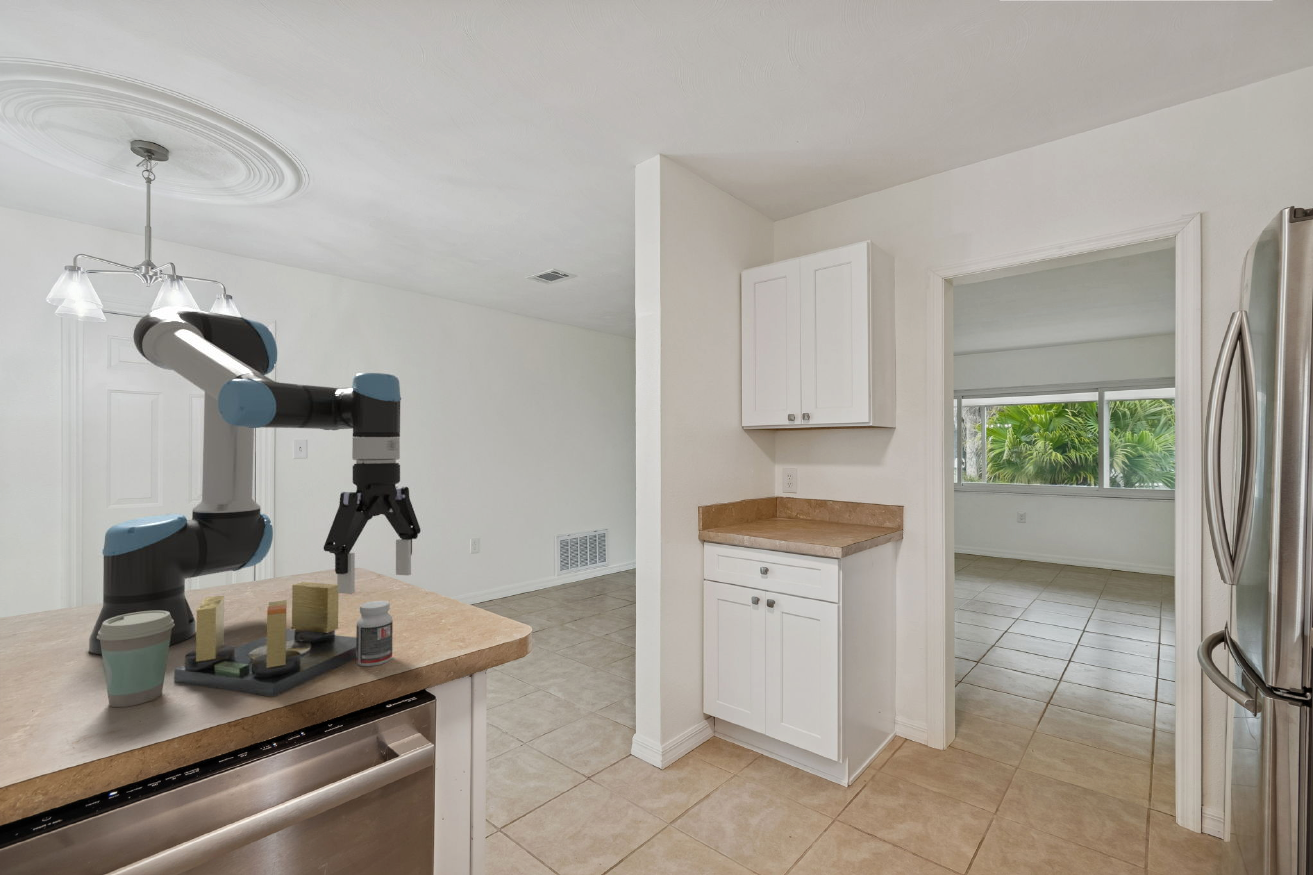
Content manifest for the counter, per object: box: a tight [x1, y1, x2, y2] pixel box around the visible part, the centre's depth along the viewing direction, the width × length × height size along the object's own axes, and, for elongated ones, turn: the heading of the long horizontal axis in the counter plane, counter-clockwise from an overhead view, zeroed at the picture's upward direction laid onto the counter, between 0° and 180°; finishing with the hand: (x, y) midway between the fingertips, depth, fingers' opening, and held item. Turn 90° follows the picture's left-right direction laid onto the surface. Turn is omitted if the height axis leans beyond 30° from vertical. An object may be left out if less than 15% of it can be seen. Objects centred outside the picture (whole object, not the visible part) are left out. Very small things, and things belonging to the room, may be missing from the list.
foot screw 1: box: [184, 595, 235, 672], centre depth 93 cm, size 8×6×10 cm
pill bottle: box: [355, 600, 394, 667], centre depth 100 cm, size 6×6×10 cm
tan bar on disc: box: [252, 599, 300, 679], centre depth 91 cm, size 8×6×11 cm
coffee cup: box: [97, 611, 175, 708], centre depth 85 cm, size 9×8×12 cm
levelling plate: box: [173, 628, 356, 698], centre depth 98 cm, size 20×20×3 cm
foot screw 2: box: [291, 581, 339, 645], centre depth 105 cm, size 8×6×10 cm
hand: (376, 583), depth 100 cm, fingers open, 13 cm apart
